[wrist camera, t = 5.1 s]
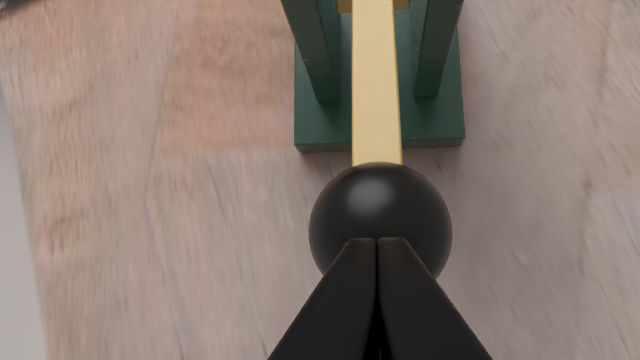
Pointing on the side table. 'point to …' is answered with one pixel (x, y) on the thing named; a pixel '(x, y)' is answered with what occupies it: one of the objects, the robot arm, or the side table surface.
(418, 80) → the switch bracket
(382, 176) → the lever
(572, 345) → the side table surface
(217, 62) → the side table surface
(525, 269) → the side table surface
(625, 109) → the side table surface
